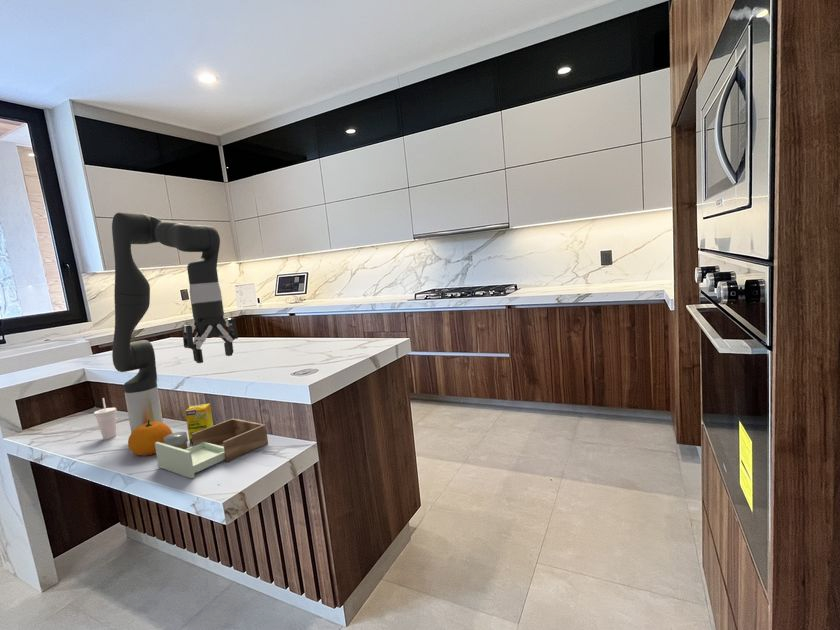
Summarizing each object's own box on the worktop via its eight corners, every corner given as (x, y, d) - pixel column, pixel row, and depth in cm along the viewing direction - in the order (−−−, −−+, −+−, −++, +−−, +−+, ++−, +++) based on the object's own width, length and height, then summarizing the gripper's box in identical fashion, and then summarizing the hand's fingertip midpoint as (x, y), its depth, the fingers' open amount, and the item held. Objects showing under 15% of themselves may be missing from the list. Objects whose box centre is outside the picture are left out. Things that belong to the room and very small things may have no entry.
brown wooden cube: (167, 457, 125) (165, 445, 124) (181, 452, 128) (179, 439, 128) (175, 460, 123) (173, 447, 122) (188, 454, 126) (186, 441, 125)
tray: (158, 466, 118) (154, 442, 117) (202, 448, 129) (199, 426, 128) (191, 478, 109) (187, 452, 108) (236, 457, 120) (232, 434, 119)
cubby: (194, 453, 127) (191, 433, 126) (235, 435, 138) (232, 418, 137) (227, 462, 118) (224, 442, 117) (268, 443, 129) (265, 424, 128)
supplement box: (189, 444, 134) (184, 411, 133) (195, 437, 140) (190, 405, 139) (209, 441, 135) (204, 408, 134) (214, 434, 141) (210, 402, 140)
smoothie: (121, 432, 152) (115, 394, 150) (120, 437, 147) (113, 398, 145) (99, 437, 149) (92, 398, 147) (97, 442, 143) (90, 402, 142)
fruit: (157, 441, 139) (152, 412, 138) (182, 444, 135) (178, 414, 134) (121, 457, 128) (115, 426, 127) (147, 461, 124) (142, 428, 123)
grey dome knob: (160, 445, 124) (159, 438, 124) (181, 438, 129) (179, 430, 129) (171, 449, 121) (170, 441, 120) (191, 440, 126) (190, 433, 125)
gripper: (222, 298, 122) (230, 353, 123) (172, 303, 110) (181, 364, 111) (238, 297, 118) (246, 354, 119) (188, 302, 106) (197, 366, 107)
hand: (214, 359), depth 115 cm, fingers open, 8 cm apart
